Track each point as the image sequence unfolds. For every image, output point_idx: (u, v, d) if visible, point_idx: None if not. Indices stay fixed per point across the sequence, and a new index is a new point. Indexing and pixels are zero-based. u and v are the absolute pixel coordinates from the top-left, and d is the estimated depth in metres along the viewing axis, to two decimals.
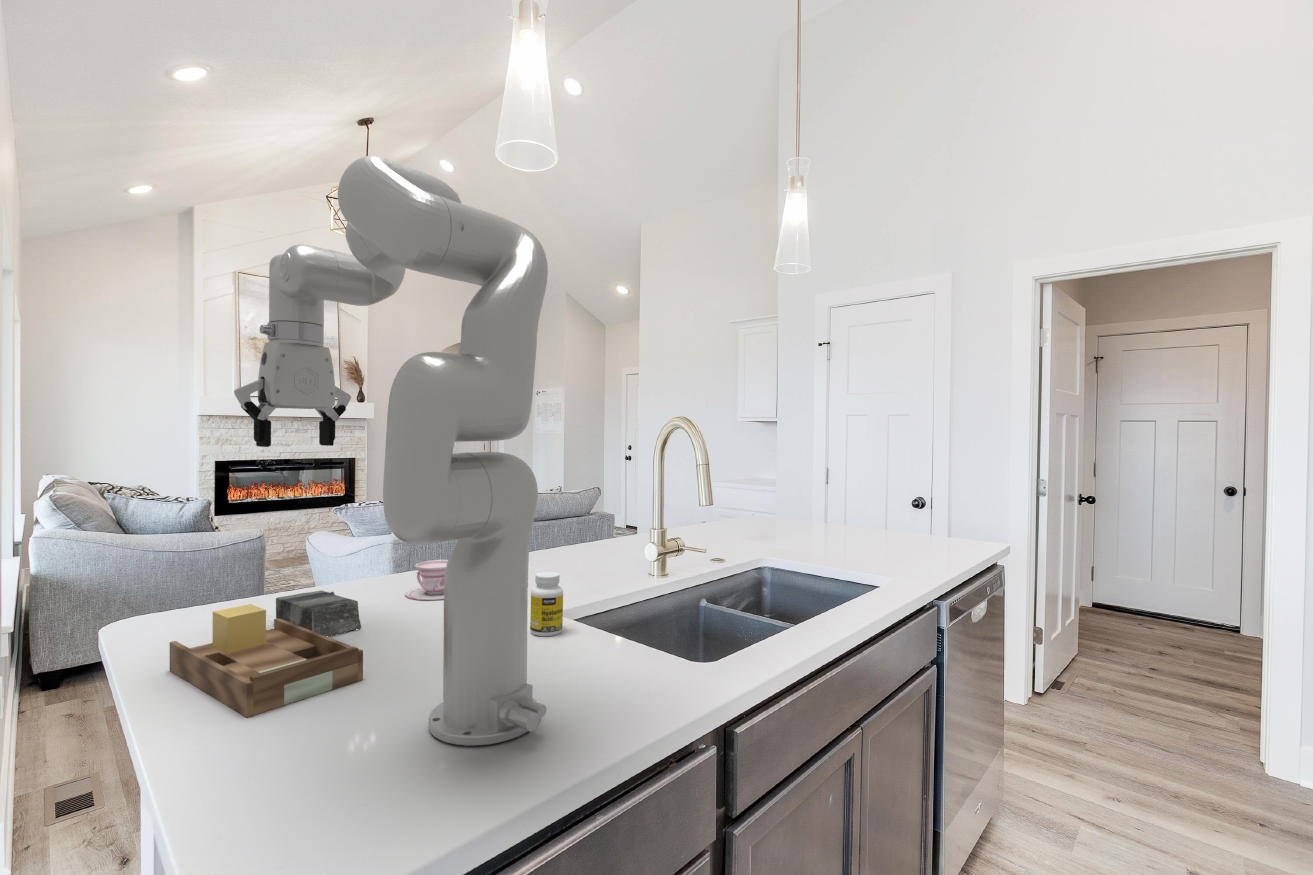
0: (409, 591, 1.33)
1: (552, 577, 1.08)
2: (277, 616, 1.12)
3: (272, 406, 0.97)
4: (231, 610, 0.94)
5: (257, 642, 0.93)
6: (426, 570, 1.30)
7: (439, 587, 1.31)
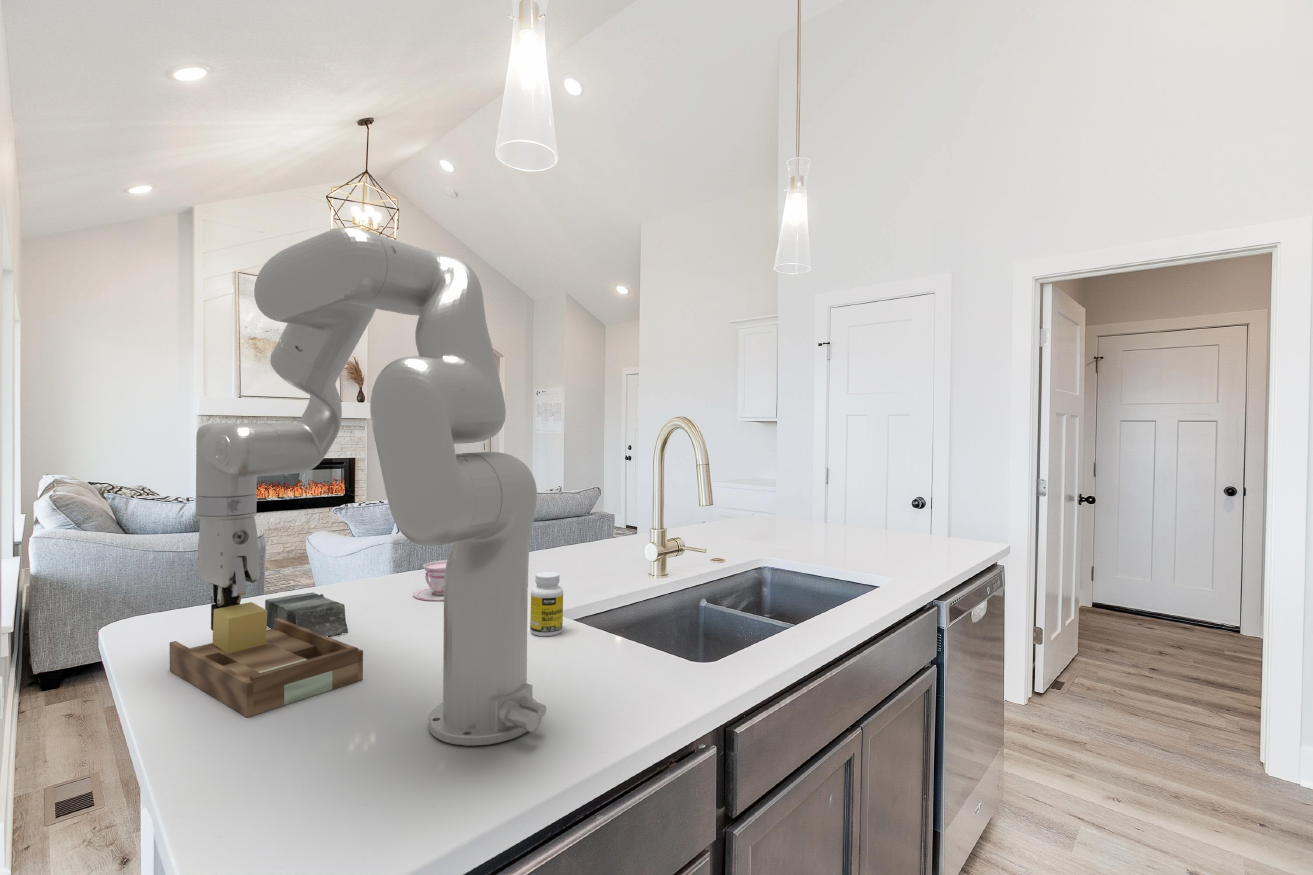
0: (417, 592, 1.33)
1: (552, 577, 1.08)
2: None
3: None
4: (232, 609, 0.93)
5: (257, 642, 0.93)
6: (434, 570, 1.30)
7: None
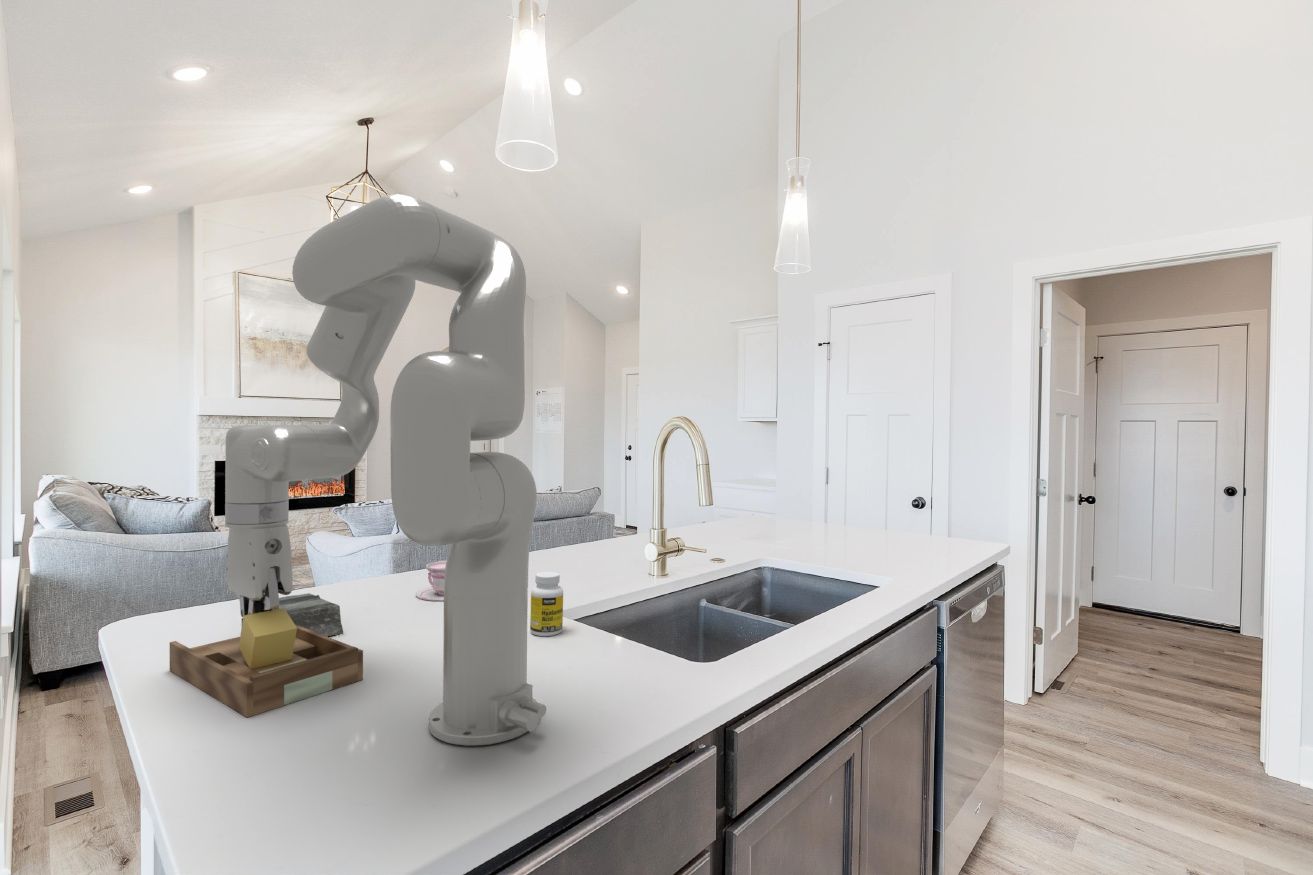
0: (419, 592, 1.33)
1: (552, 577, 1.08)
2: None
3: None
4: (262, 618, 0.87)
5: (283, 658, 0.87)
6: (437, 571, 1.30)
7: None
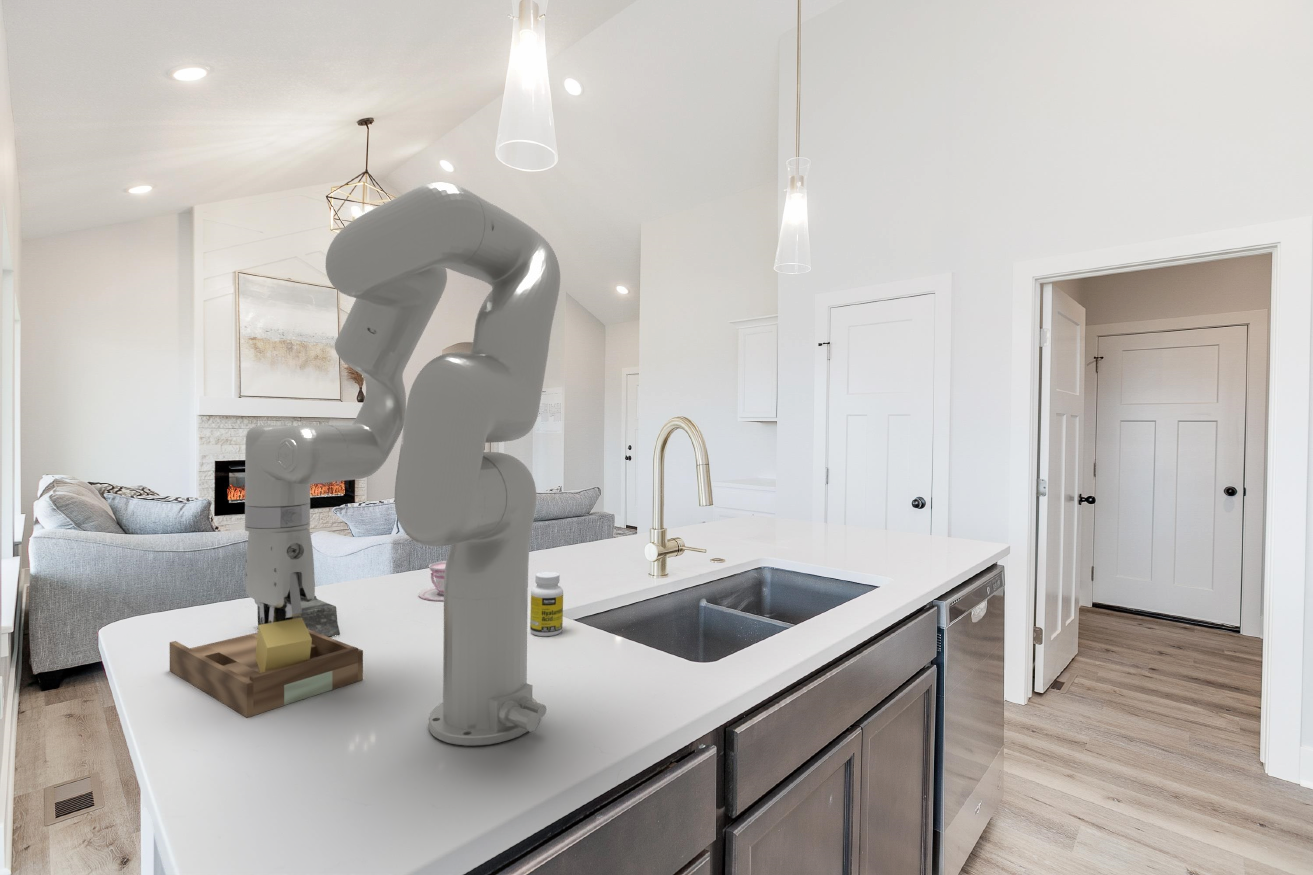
0: (422, 592, 1.33)
1: (552, 577, 1.08)
2: (258, 620, 1.10)
3: None
4: (277, 628, 0.83)
5: None
6: (440, 571, 1.30)
7: None
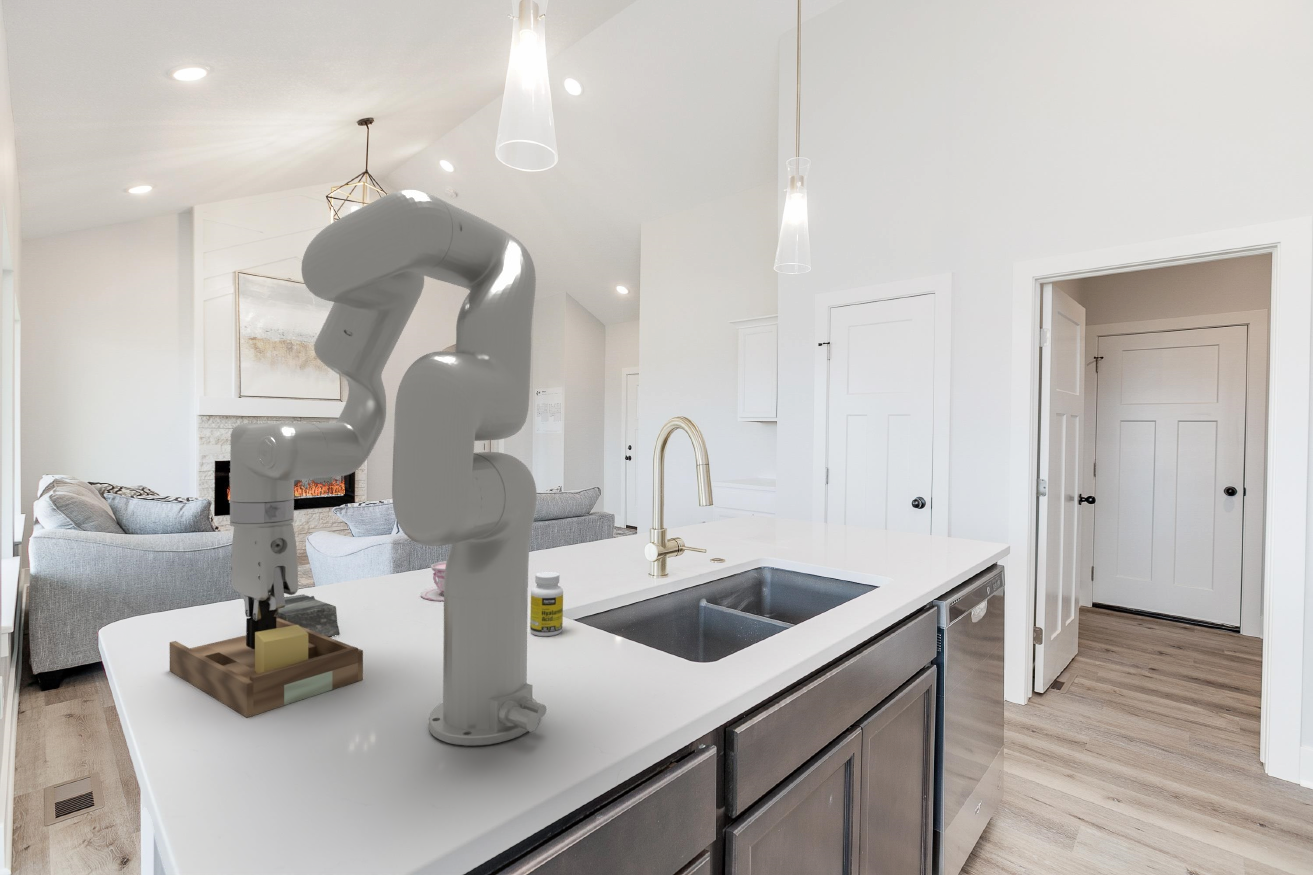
0: (424, 592, 1.33)
1: (552, 577, 1.08)
2: None
3: None
4: (274, 632, 0.84)
5: None
6: (442, 571, 1.29)
7: None
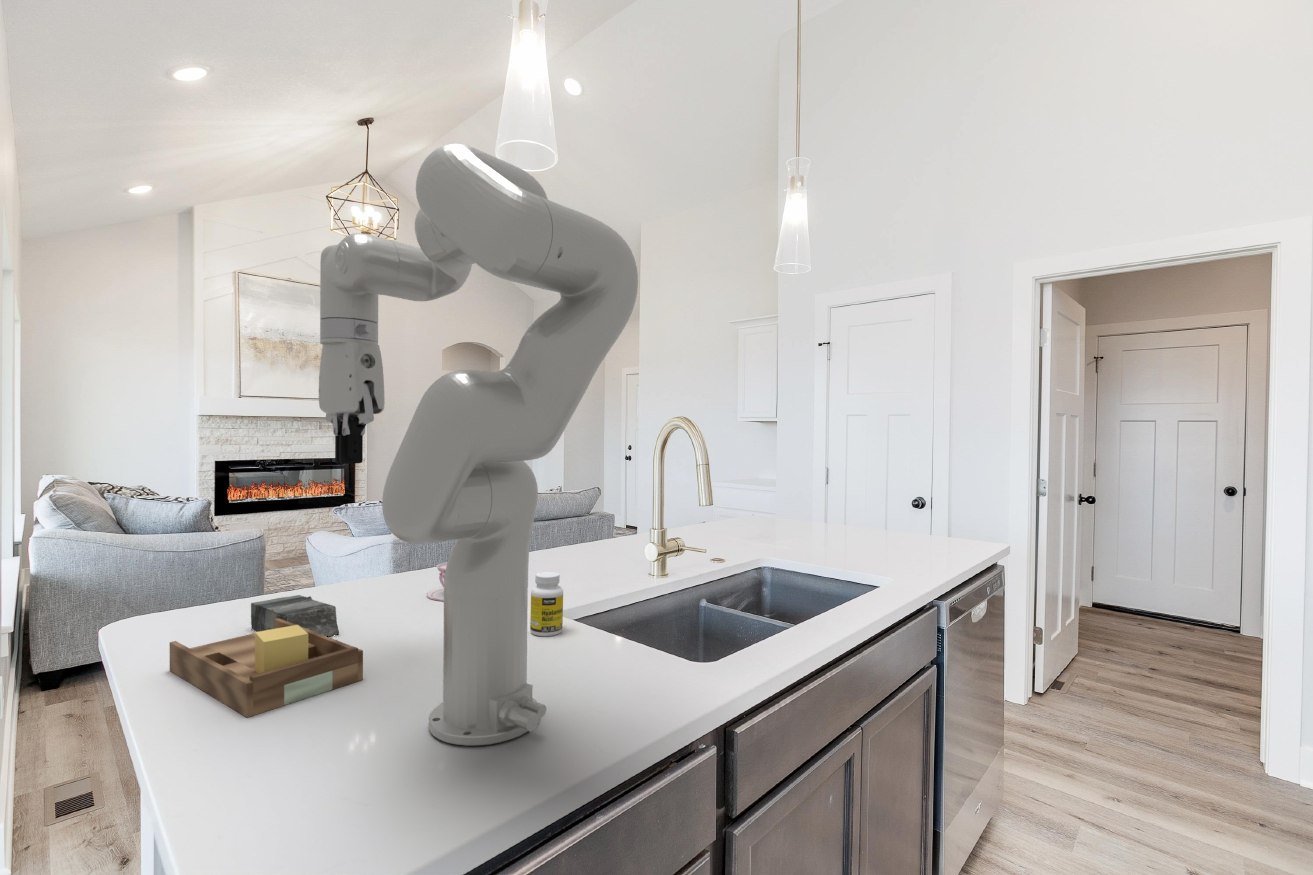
0: (430, 592, 1.33)
1: (552, 577, 1.08)
2: (252, 622, 1.09)
3: None
4: (274, 632, 0.84)
5: None
6: None
7: None
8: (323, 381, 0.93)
